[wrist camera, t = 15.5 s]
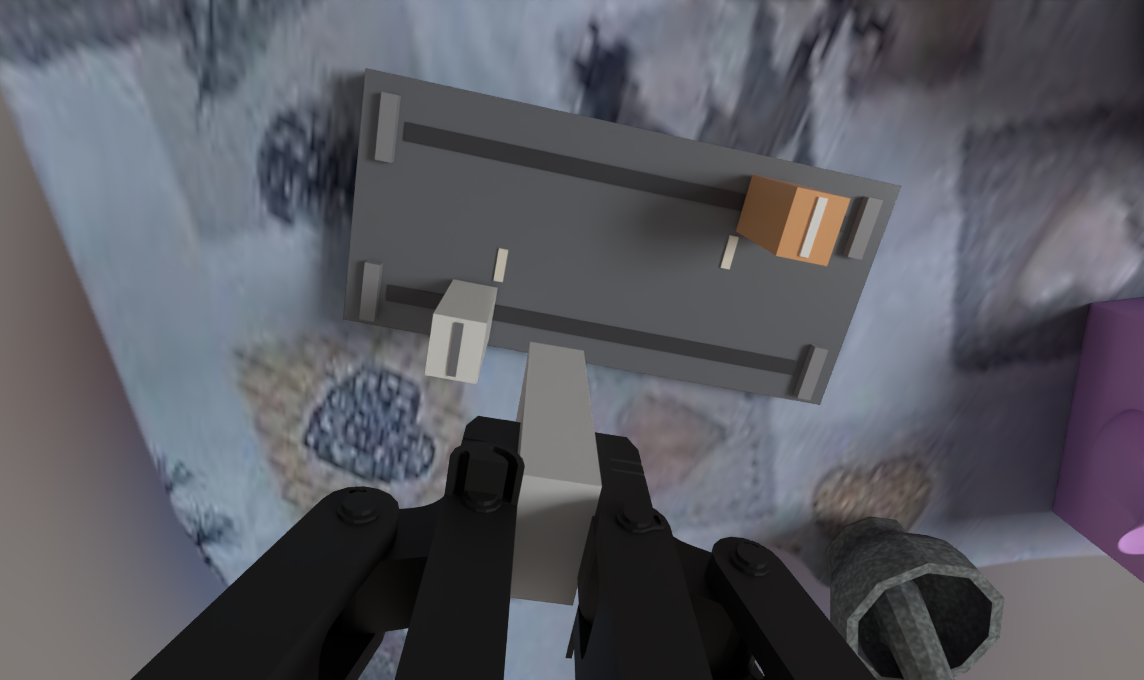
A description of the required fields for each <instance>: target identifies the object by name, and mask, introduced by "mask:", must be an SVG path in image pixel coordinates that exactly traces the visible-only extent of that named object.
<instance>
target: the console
mask: <svg viewBox="0 0 1144 680" xmlns="http://www.w3.org/2000/svg"><path fill="white" fill-rule="evenodd" d="M753 174H754V175H758V176H763V177H768V178H772V179H777V180H781V181H786V182H791V183H795V184H799V185H803V186H807V187H810V188H814V189H818V190H821V191H825V192H829V193H832V194H836V195H840V196H843V197H847V198H851V199H850V202H849V205H848V208H847V211H846V213H845V216H844V219H843V222H842V225H841V228H840V231H839V234H838V236H837V239H836V242H835V245H834V248H833V251H832V254H831V257H830V259H829V262H828V265H827V266H824V265H819V264H814V263H809V262H804V261H799V260H794V259H789V258H784V257H779V256H775V255H774V254H772V253H771V252H769V251H767V250H766V249H764V248H762V247H761V246H759V245H757V244H756V243H754V242H753V241H751V240H749V239H748V238H746V237H744V236H743V235H741V234H740V233H738V232H736V229H737V226H738V222H739V219H740V216H741V212H742V209H743V205H744V202H745V198H746V195H747V192H748V188H749V185H750V181H751V178H752V175H753ZM900 188H901V186H899V185H894V184H890V183H885V182H881V181H876V180H872V179H867V178H863V177H858V176H854V175H849V174H844V173H840V172H835V171H831V170H826V169H822V168H817V167H813V166H808V165H804V164H799V163H794V162H790V161H785V160H781V159H776V158H772V157H767V156H763V155H758V154H754V153H749V152H744V151H740V150H735V149H731V148H726V147H722V146H717V145H713V144H708V143H703V142H699V141H694V140H690V139H685V138H681V137H676V136H672V135H667V134H663V133H658V132H653V131H649V130H644V129H640V128H635V127H631V126H626V125H622V124H617V123H613V122H608V121H603V120H599V119H594V118H590V117H585V116H581V115H576V114H572V113H567V112H563V111H558V110H553V109H549V108H544V107H540V106H535V105H531V104H526V103H522V102H517V101H513V100H508V99H503V98H499V97H494V96H490V95H485V94H481V93H476V92H472V91H467V90H463V89H458V88H453V87H449V86H444V85H440V84H435V83H431V82H426V81H422V80H417V79H413V78H408V77H403V76H399V75H394V74H390V73H385V72H381V71H376V70H372V69H367V68H365V80H364V91H363V102H362V113H361V125H360V136H359V147H358V159H357V170H356V181H355V192H354V204H353V215H352V226H351V238H350V249H349V260H348V272H347V283H346V294H345V305H344V317H343V319H344V320H350V321H355V322H361V323H366V324H372V325H378V326H383V327H389V328H394V329H400V330H405V331H411V332H417V333H422V334H428V335H430V334H431V327H432V320H433V313H434V312H435V310H436V308H437V307H438V305H439V303H440V302H441V300H442V298H443V296H444V295H445V293H446V291H447V290H448V288H449V286H450V284H451V283H452V281H453V279H454V280H460V281H465V282H470V283H475V284H481V285H486V286H491V287H497V288H498V289H497V295H496V301H495V306H494V312H493V318H492V324H491V330H490V336H489V340H488V344H487V345H489V346H495V347H500V348H506V349H511V350H517V351H523V352H529V346H530V342H535V343H541V344H547V345H553V346H559V347H565V348H571V349H577V350H583V351H584V356H585V363H589V364H595V365H601V366H606V367H612V368H617V369H623V370H628V371H634V372H640V373H645V374H651V375H656V376H662V377H667V378H673V379H679V380H684V381H690V382H695V383H701V384H706V385H712V386H718V387H723V388H729V389H734V390H740V391H746V392H751V393H757V394H762V395H768V396H773V397H779V398H785V399H790V400H796V401H801V402H807V403H812V404H818V405H820V403H821V400H822V398H823V395H824V392H825V390H826V387H827V384H828V382H829V379H830V376H831V374H832V371H833V368H834V365H835V363H836V360H837V357H838V355H839V352H840V349H841V347H842V344H843V341H844V339H845V336H846V333H847V331H848V328H849V325H850V323H851V320H852V317H853V314H854V312H855V309H856V306H857V304H858V301H859V298H860V296H861V293H862V290H863V288H864V285H865V282H866V280H867V277H868V274H869V271H870V269H871V266H872V263H873V261H874V258H875V255H876V253H877V250H878V247H879V245H880V242H881V239H882V237H883V234H884V231H885V228H886V226H887V223H888V220H889V218H890V215H891V212H892V210H893V207H894V204H895V202H896V199H897V196H898V194H899V191H900Z"/></svg>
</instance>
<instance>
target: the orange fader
mask: <svg viewBox="0 0 1144 680" xmlns="http://www.w3.org/2000/svg"><path fill="white" fill-rule="evenodd" d="M850 199H851V198H847V197H843V196H840V195H836V194H832V193H829V192H825V191H821V190H818V189H814V188H810V187H807V186H803V185H799V184H795V183H791V182H786V181H781V180H777V179H772V178H768V177H763V176H758V175H754V174H753V175H752V178H751V181H750V185H749V188H748V192H747V195H746V198H745V202H744V205H743V209H742V212H741V216H740V219H739V222H738V226H737V229H736V232H738V233H740V234H741V235H743V236H744V237H746V238H748V239H749V240H751V241H753V242H754V243H756V244H757V245H759V246H761V247H762V248H764V249H766V250H767V251H769V252H771V253H772V254H774V255H775V256H779V257H784V258H789V259H794V260H799V261H804V262H809V263H814V264H819V265H824V266H827V265H828V262H829V259H830V257H831V254H832V251H833V248H834V245H835V242H836V239H837V236H838V234H839V231H840V228H841V225H842V222H843V219H844V216H845V213H846V211H847V208H848V205H849V202H850Z"/></svg>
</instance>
